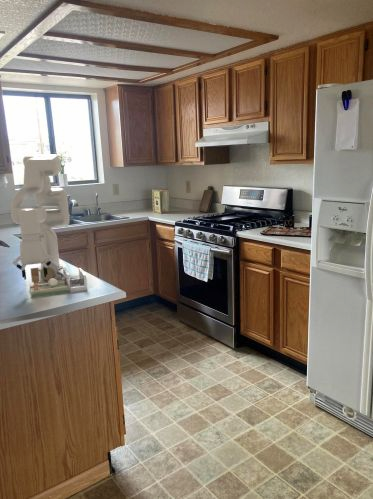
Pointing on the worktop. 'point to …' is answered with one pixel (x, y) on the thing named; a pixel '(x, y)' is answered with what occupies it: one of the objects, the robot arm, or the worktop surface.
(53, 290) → the field
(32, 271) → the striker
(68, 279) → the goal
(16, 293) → the worktop surface
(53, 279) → the ball
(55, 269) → the ceramic mug
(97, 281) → the worktop surface
